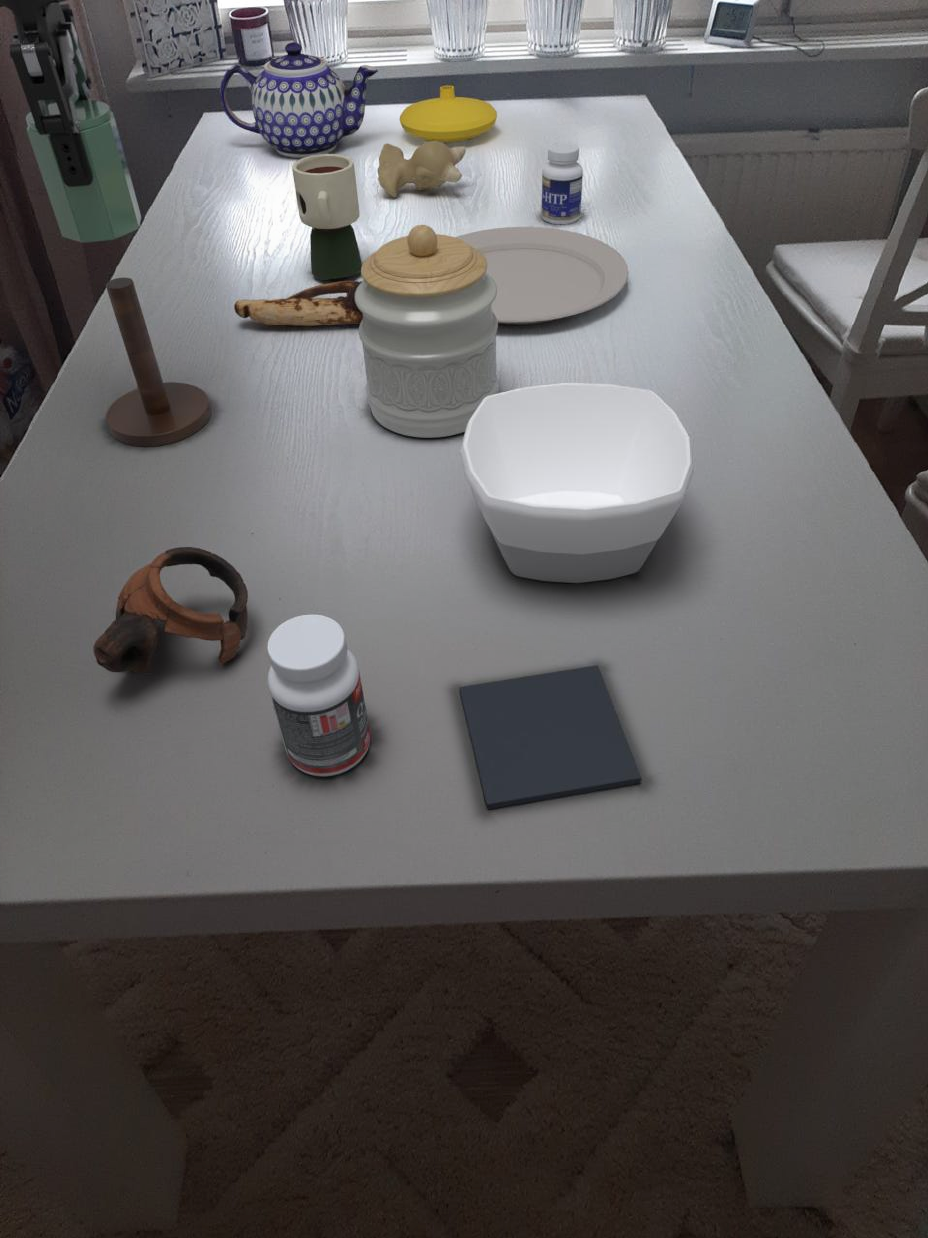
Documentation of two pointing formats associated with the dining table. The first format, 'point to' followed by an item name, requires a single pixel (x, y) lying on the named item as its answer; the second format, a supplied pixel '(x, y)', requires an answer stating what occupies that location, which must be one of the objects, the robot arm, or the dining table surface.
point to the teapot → (301, 103)
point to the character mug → (329, 213)
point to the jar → (427, 333)
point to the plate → (547, 272)
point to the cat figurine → (419, 166)
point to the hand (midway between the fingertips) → (84, 168)
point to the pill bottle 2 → (562, 184)
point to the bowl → (576, 477)
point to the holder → (149, 384)
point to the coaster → (546, 737)
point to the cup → (110, 195)
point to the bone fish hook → (306, 307)
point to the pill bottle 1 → (317, 695)
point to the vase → (448, 117)
